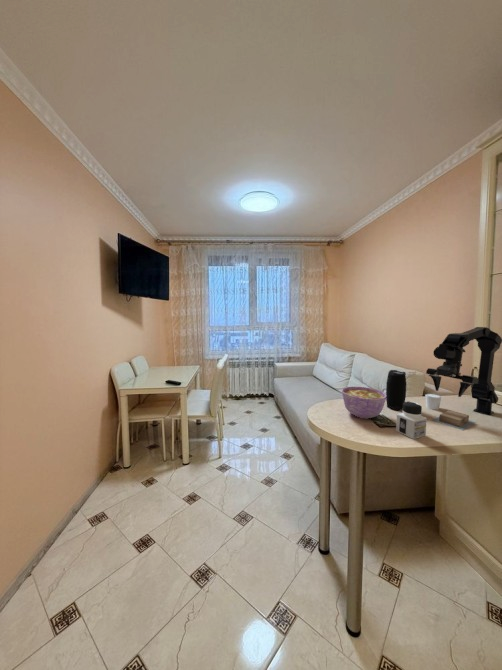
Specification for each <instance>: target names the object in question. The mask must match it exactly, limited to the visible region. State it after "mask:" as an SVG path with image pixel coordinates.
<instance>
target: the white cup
mask: <svg viewBox="0 0 502 670" xmlns="http://www.w3.org/2000/svg"><path fill="white" fill-rule="evenodd" d="M424 395H425V408H427V409H429V410H433V411H434V410H435V411H439V410H440V407H441V401H442V396H441V395H439V394H434V393H426V394H424Z"/></svg>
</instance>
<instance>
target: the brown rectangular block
mask: <svg viewBox="0 0 502 670" xmlns="http://www.w3.org/2000/svg"><path fill="white" fill-rule="evenodd" d="M439 416H440V417H439ZM439 416H438V417H439V421H441V422H444V423H447V424H450V425H453V426H457V427H460V426H462V425H464V424H465V423H467V422H468V421H469V418H470V415H469V414H466V413H462V412H458V411H455V410H451V409H448V410H447V411H444V412H442V413H440V414H439Z"/></svg>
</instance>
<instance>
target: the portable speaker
mask: <svg viewBox="0 0 502 670" xmlns="http://www.w3.org/2000/svg"><path fill="white" fill-rule="evenodd" d="M406 375H407V374H406V372H405V371H399V370H397V369H390V370H389V371H388V373H387V378H386V385H385V387H386V388H385V389H386V390H385V391H386V392H385V394H386V395H387V397H386V400H385V402H386V407H387V408H392V409H393V410H394V411H403V403H404V402H406V398H407V396H406V395H407V378H406V377H407V376H406Z"/></svg>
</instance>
